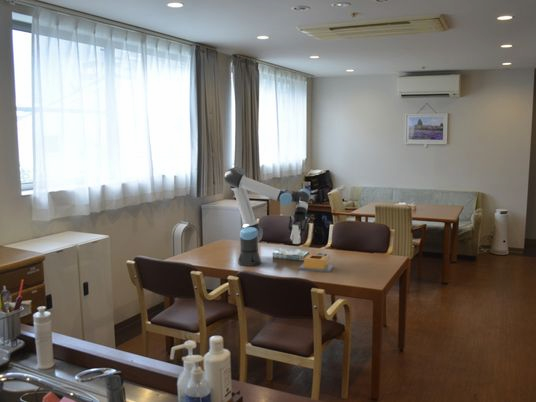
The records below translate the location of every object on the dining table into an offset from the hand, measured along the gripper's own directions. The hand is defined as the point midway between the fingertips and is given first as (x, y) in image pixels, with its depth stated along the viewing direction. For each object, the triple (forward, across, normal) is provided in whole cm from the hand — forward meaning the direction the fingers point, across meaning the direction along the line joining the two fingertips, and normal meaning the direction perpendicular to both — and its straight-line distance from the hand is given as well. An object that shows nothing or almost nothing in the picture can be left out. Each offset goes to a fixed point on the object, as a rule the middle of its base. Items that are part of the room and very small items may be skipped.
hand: (294, 239), depth 319 cm
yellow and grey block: (+11, -13, -16) cm, 23 cm away
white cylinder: (0, 0, -5) cm, 5 cm away
